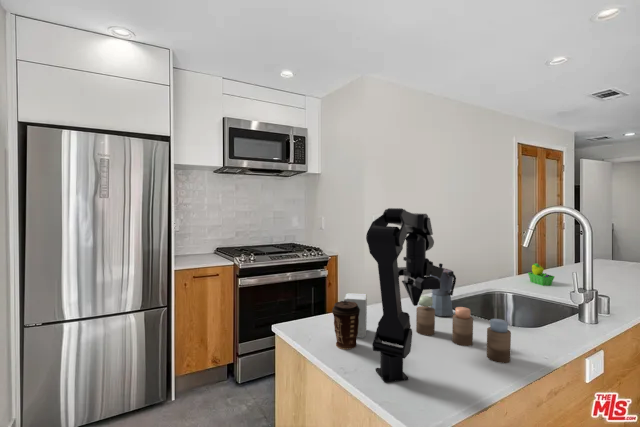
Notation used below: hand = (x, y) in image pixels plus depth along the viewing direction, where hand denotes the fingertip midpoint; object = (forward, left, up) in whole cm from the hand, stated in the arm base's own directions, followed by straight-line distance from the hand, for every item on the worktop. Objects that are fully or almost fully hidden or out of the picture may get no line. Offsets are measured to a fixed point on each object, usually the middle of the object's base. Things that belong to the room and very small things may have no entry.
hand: (415, 305), depth 104 cm
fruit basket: (+60, -107, -13) cm, 123 cm away
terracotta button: (0, -17, -5) cm, 17 cm away
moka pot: (+26, -26, -13) cm, 39 cm away
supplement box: (+15, +14, -13) cm, 24 cm away
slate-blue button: (-12, -20, -5) cm, 24 cm away
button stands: (0, -15, -13) cm, 20 cm away
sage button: (+10, -10, -3) cm, 15 cm away
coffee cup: (+6, +20, -13) cm, 25 cm away
